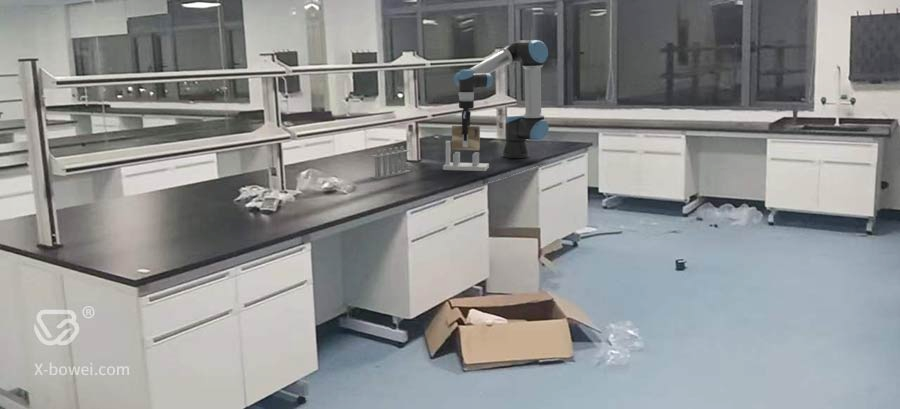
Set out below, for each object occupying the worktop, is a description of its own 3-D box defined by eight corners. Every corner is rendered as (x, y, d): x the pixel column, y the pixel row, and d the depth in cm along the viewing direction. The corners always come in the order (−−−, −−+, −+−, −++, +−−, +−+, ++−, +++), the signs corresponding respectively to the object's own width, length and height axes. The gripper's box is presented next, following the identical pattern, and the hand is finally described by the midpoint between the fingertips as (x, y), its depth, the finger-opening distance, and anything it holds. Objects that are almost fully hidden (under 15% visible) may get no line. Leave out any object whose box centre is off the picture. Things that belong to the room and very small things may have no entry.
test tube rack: (377, 179, 362) (377, 151, 359) (370, 178, 364) (370, 151, 361) (410, 172, 381) (409, 145, 379) (403, 171, 384) (402, 145, 381)
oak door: (452, 148, 391) (452, 125, 388) (479, 149, 389) (479, 126, 386) (451, 149, 388) (451, 126, 385) (478, 150, 385) (478, 126, 383)
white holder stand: (447, 166, 398) (447, 139, 395) (488, 167, 395) (489, 140, 392) (442, 169, 387) (442, 142, 384) (485, 171, 383) (485, 143, 380)
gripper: (461, 99, 391) (461, 144, 396) (456, 101, 376) (456, 148, 381) (475, 99, 390) (475, 144, 395) (471, 101, 375) (470, 148, 380)
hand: (465, 146), depth 388 cm, fingers closed on oak door, 2 cm apart
